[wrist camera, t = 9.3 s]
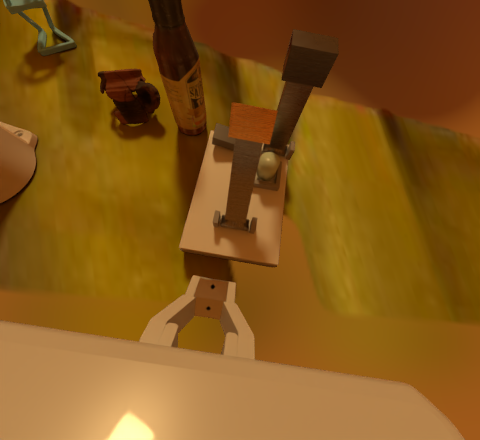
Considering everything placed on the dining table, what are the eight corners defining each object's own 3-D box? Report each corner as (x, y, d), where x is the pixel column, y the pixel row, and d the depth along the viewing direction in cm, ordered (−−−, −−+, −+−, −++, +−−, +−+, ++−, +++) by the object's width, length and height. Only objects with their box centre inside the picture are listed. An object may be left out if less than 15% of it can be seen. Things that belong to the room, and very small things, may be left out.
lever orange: (218, 229, 25) (231, 102, 16) (221, 220, 27) (234, 102, 18) (248, 235, 25) (277, 111, 16) (248, 225, 27) (275, 110, 18)
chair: (66, 27, 43) (7, -63, 31) (77, 46, 41) (19, -42, 29) (31, 36, 41) (-44, -57, 30) (42, 56, 39) (-34, -34, 28)
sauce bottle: (204, 139, 35) (178, -14, 17) (174, 134, 35) (113, -26, 16) (210, 115, 37) (192, -46, 19) (181, 110, 37) (134, -57, 18)
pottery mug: (106, 125, 35) (78, 73, 30) (138, 114, 42) (120, 70, 36) (155, 126, 33) (134, 68, 27) (181, 114, 39) (168, 65, 34)
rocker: (211, 144, 29) (212, 137, 28) (215, 130, 30) (216, 123, 29) (236, 151, 30) (238, 145, 28) (239, 138, 31) (241, 131, 29)
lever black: (260, 155, 30) (291, 44, 16) (262, 144, 31) (293, 29, 16) (284, 160, 30) (338, 54, 16) (285, 149, 31) (338, 38, 16)
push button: (255, 178, 28) (258, 167, 25) (257, 163, 29) (261, 150, 26) (273, 182, 28) (279, 170, 25) (275, 166, 29) (281, 154, 26)
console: (183, 251, 28) (172, 245, 22) (212, 145, 35) (208, 118, 29) (272, 267, 29) (285, 265, 23) (283, 158, 35) (295, 134, 29)
